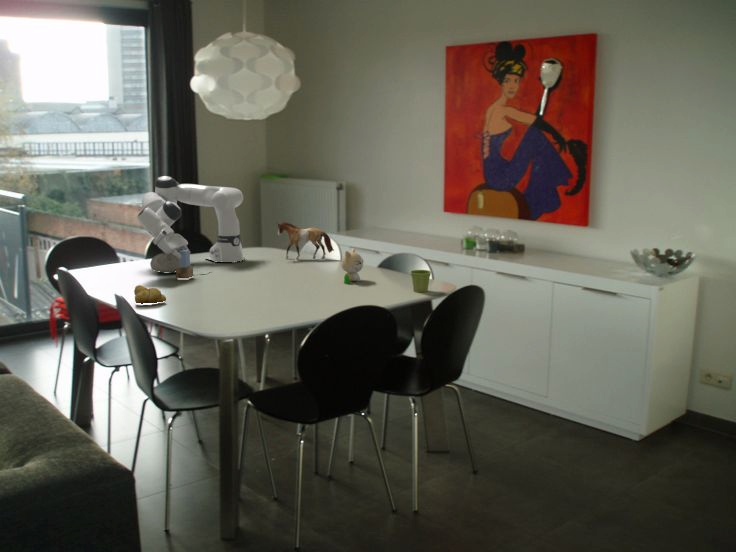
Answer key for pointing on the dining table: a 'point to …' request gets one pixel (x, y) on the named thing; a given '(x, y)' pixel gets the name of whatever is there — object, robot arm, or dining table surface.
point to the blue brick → (184, 259)
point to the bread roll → (148, 295)
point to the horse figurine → (305, 237)
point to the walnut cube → (184, 272)
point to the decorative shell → (164, 262)
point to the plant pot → (420, 280)
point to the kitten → (352, 266)
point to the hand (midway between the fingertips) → (185, 255)
